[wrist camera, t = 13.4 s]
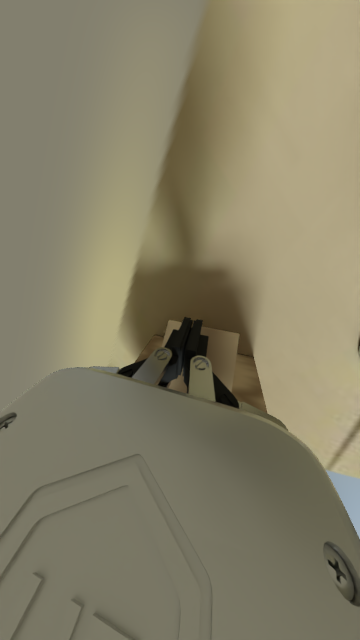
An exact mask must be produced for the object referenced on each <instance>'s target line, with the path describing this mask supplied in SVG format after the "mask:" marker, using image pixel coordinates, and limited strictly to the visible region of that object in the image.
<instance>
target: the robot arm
mask: <svg viewBox="0 0 360 640" xmlns="http://www.w3.org/2000/svg"><path fill="white" fill-rule="evenodd" d="M192 321H193V320H191V318H186V317H184V320H183V322H182V324H181V326H180V328H179V330H175V329H173V331H172V333H171V335H170V337H169V339H168V341H167V343H166V345H165V346H164V347H161V348H157V349H155V350H154V351H153V353H152V354H151V355H150V356H149V357H148V358H147V359H144V360H141V361H139V362H136V363H133V364H131V365H128V366H125V367H123V368H122V369H119V367H95V366H93V367H89V368H85V367H84V368H83V367H76V368H67V369H62V370H58V371H56V372H53V373H52V374H50V375H48V376H46V377H45V378H43V379H42V380H41V381H39V382H38V383H36V384H35V385H33V386H32V387H31V388H30V389H28V390H27V391H25V392H24V393H23V394H22V395H20V396H19V397H18V398H16V399H15V400H14V401H13V402H11V403H10V404H9V405H8V406H6V407H5V408H4V409H3V410H1V411H0V640H360V539H359V537H358V535H357V532H356V530H355V528H354V526H353V524H352V522H351V520H350V518H349V515H348V513H347V511H346V509H345V507H344V505H343V503H342V501H341V499H340V497H339V495H338V493H337V491H336V489H335V487H334V486H333V483H332V482H331V480H330V478H329V476H328V474H327V472H326V471H325V469H324V467H323V466H322V464H321V463H320V461H319V460H318V458H317V457H316V456H315V454H314V453H313V452H312V451H311V450H310V449H309V448H308V447H307V446H306V445H305V444H304V443H303V442H302V441H301V440H300V439H298V438H297V437H296V436H294V435H293V434H292V433H290V432H289V431H288V429H287V428H286V426H285V425H284V424H283V423H282V422H281V421H280V420H279V419H277V418H275V417H273V416H271V415H269V414H267V413H265V412H263V411H261V410H259V409H257V408H255V407H253V406H251V405H249V404H247V403H245V402H242V403H241V402H239V401H238V400H237V399H236V397H235V396H234V395H233V394H232V393H231V392H230V390H229V389H228V388H227V387H226V386H225V385H224V384H223V383H222V382H221V380H220V379H219V378H218V377H217V376H216V375H215V374H214V373H213V372H212V366H211V362H210V361H209V359H207V358H206V355H207V347H208V338H209V336H206V335H201V328H202V322H203V320H198V319H197V320H196V321H194V323H193V326H192ZM359 355H360V348H359ZM182 369H183V375H182V376H184V380H183V381H184V383H185V384H186V386H187V393H183V392H179V391H176V390H172V389H169V386H170V384H171V381H172V380H174V379H177V378H178V375H180V376H181V373H182Z"/></svg>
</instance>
